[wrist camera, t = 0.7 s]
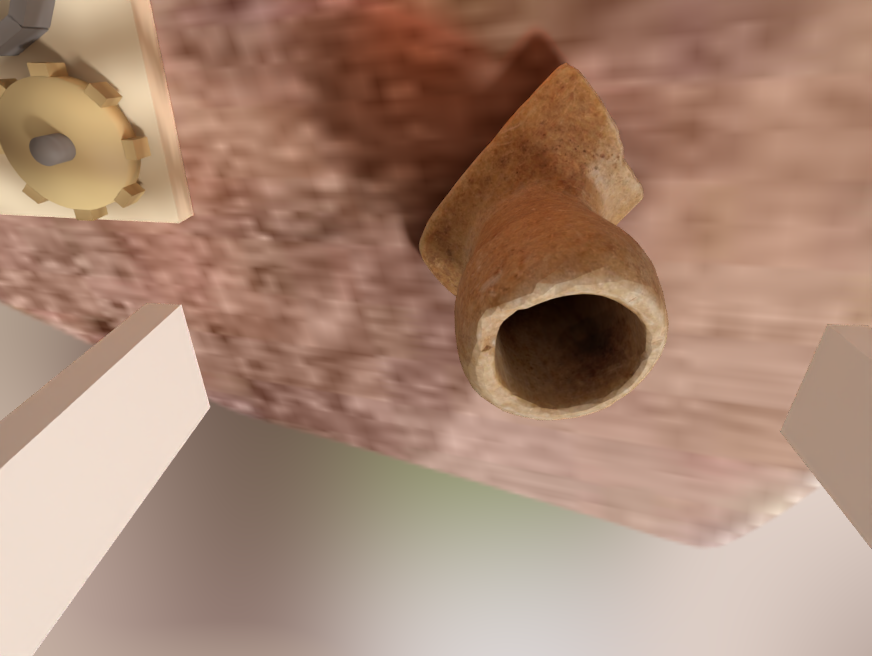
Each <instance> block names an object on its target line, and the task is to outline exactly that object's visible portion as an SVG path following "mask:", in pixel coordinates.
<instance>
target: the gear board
mask: <svg viewBox="0 0 872 656" xmlns="http://www.w3.org/2000/svg"><path fill="white" fill-rule="evenodd" d="M0 214H2V215H23V216H43V217H64V218H76V219H77V220H87V221H94V220H96V219H105V220H125V221H145V222H166V223H181V222H182V221H184V220H186V219H187V218H189V217H191V216H192V215H194V214H193V209H192V204H191V199H190V194H189V189H188V185H187V180H186V175H185V170H184V165H183V160H182V155H181V150H180V146H179V141H178V136H177V131H176V126H175V121H174V116H173V111H172V107H171V102H170V97H169V92H168V87H167V82H166V77H165V72H164V67H163V63H162V58H161V53H160V48H159V43H158V38H157V33H156V28H155V24H154V19H153V14H152V9H151V4H150V0H0Z"/></svg>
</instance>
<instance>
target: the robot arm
mask: <svg viewBox="0 0 872 656" xmlns="http://www.w3.org/2000/svg"><path fill="white" fill-rule="evenodd" d="M209 408H210V405H209V401H208V398H207V394H206V391H205V387H204V384H203V380H202V377H201V373H200V369H199V366H198V362H197V359H196V355H195V352H194V348H193V344H192V341H191V337H190V334H189V330H188V327H187V323H186V320H185V316H184V312H183V309H182V305H181V304H154V303H146V304H145V305H143V306H142V307H141V308H140V309H139V310H137V311H136V312H135V313H134V314H132V315H131V316H130V317H129V318H127V319H126V320H125V321H124V322H122V323H121V324H120V325H119V326H117V327H116V328H115V329H114V330H113V331H111V332H110V333H109V334H108V335H106V336H105V337H104V338H103V339H101V340H100V341H99V342H98V343H96V344H95V345H94V346H93V347H92V348H90V349H89V350H88V351H87V352H85V353H84V354H83V355H82V356H80V357H79V358H78V359H77V360H75V361H74V362H73V363H72V364H70V365H69V366H68V367H67V368H66V369H65V370H63V371H62V372H61V373H59V374H58V375H57V376H56V377H54V378H53V379H52V380H51V381H50V382H48V383H47V384H46V385H45V386H43V387H42V388H41V389H40V390H38V391H37V392H36V393H35V394H33V395H32V396H31V397H30V398H29V399H27V400H26V401H25V402H23V403H22V404H21V405H20V406H19V407H17V408H16V409H15V410H14V411H12V412H11V413H10V414H9V415H7V416H6V417H5V418H4V419H2V420H1V421H0V656H33V654H34V653H35V652H36V650H37V649H38V647H39V646H40V645H41V643H42V642H43V640H44V639H45V638H46V636H47V635H48V633H49V632H50V631H51V629H52V628H53V626H54V625H55V623H56V622H57V621H58V619H59V618H60V617H61V615H62V614H63V612H64V611H65V610H66V608H67V607H68V605H69V604H70V603H71V601H72V600H73V598H74V597H75V595H76V594H77V593H78V591H79V590H80V589H81V587H82V586H83V584H84V583H85V582H86V580H87V579H88V577H89V576H90V574H91V573H92V572H93V570H94V569H95V568H96V566H97V565H98V563H99V562H100V561H101V559H102V558H103V556H104V555H105V553H106V552H107V551H108V549H109V548H110V547H111V545H112V544H113V542H114V541H115V540H116V538H117V537H118V535H119V534H120V533H121V531H122V530H123V528H124V527H125V526H126V524H127V523H128V521H129V520H130V519H131V517H132V516H133V514H134V513H135V512H136V510H137V509H138V507H139V506H140V505H141V503H142V502H143V500H144V499H145V498H146V496H147V495H148V493H149V492H150V491H151V489H152V488H153V486H154V485H155V483H156V482H157V481H158V479H159V478H160V477H161V475H162V474H163V473H164V471H165V470H166V468H167V467H168V466H169V464H170V463H171V461H172V460H173V458H174V457H175V456H176V454H177V453H178V451H179V450H180V449H181V447H182V446H183V445H184V443H185V442H186V440H187V439H188V437H189V436H190V435H191V433H192V432H193V431H194V429H195V428H196V426H197V425H198V423H199V422H200V421H201V419H202V418H203V416H204V415H205V414H206V412H207V411H208V410H209ZM780 432H781V433H782V435H783V436H784V437H785V439H786V440H787V441H788V442H789V444H790V445H791V446H792V448H793V449H794V450H795V451H796V453H797V454H798V455H799V456H800V458H801V459H802V460H803V462H804V463H805V464H806V465H807V467H808V468H809V469H810V471H811V472H812V473H813V474H814V476H815V477H816V478H817V480H818V481H819V482H820V483H821V485H822V486H823V487H824V489H825V490H826V491H827V492H828V494H829V495H830V496H831V497H832V499H833V500H834V501H835V503H836V504H837V505H838V506H839V508H840V509H841V510H842V512H843V513H844V514H845V515H846V517H847V518H848V519H849V520H850V522H851V523H852V525H853V526H854V527H855V528H856V529H857V531H858V532H859V533H860V535H861V536H862V537H863V539H864V540H865V541H866V542H867V544H868V545H869V546H870V548H871V549H872V328H871V327H869V326H867V325H834V324H827V326H826V329H825V331H824V333H823V336H822V338H821V340H820V342H819V345H818V347H817V349H816V351H815V354H814V356H813V358H812V360H811V363H810V365H809V367H808V369H807V372H806V374H805V376H804V378H803V381H802V383H801V385H800V388H799V390H798V392H797V394H796V397H795V399H794V401H793V403H792V406H791V408H790V410H789V412H788V415H787V417H786V419H785V421H784V424H783V426H782V428H781V430H780Z"/></svg>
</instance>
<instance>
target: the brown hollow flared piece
mask: <svg viewBox="0 0 872 656" xmlns="http://www.w3.org/2000/svg"><path fill="white" fill-rule="evenodd" d="M623 153H624V152H623V145H622V142H621V140H620V138H619V130H618V128H617V126H616V124H615V123H614V121H613V119H612V118H611V116H610V115H609V113H608V112H607V110H606V108H605V106H604V105H603V103H602V101H601V99H600V98H599V96H598V95H597V93H596V92H595V91H594V89H593V88H592V87H591V85H590V84H589V83H588V81H587V80H586V79H585V77H584V76H583V75H582V73H581V72H580V71H578V70H577V69H576V68H574V67H572V66H570V65H569V64H567V63H564V64H562V65H560V66H559V67H558V68H557V69H556V70H555V71H554V72H553V73H552V74H551V75H550V76H549V77H548V78H547V79H546V80H545V81H544V82H543V83H542V84H541V85H540V86H539V87H538V88H537V89H536V91H535V92H534V93H533V94H532V95H531V96H530V98H529V99H527V100H526V101H525V102H524V103H523V104H522V106H521V107H520V108H519V109H518V110H517V111H516V112H515V113H514V114H513V116H512V117H511V118H510V119H509V120H508V121H507V122H506V124H505V125H504V126H503V127H502V129H501V130H500V131H499V133H498V134H497V135H496V136H495V138H494V139H493V140H492V141H491V142H490V143H489V145H488V146H487V147H486V148H485V149H484V150H483V151H482V152H481V153H480V154H479V156H478V157H477V158H476V159H475V160H474V162H473V163H472V164H471V165H470V166H469V168H468V169H467V170H466V171H465V172H464V174H463V175H462V176H461V177H460V178H459V180H458V181H457V182H456V184H455V185H454V186H453V188H452V189H451V190H450V192H449V193H448V194H447V196H446V197H445V198H444V200H443V201H442V202H441V203H440V205H439V206H438V207H437V209H436V210H435V211H434V213H433V214H432V216H431V217H430V219H429V220H428V222H427V224H426V227H425V229H424V231H423V234H422V236H421V239H420V242H419V250H420V253H421V255H422V258H423V261H424V262H425V264H426V265H427V266H428V268H429V269H430V271H431V272H432V273H433V275H434V276H435V277H436V278H437V279H438V280H439V281H440V282H441V283H442V285H443V286H445V287H446V288H447V289H448V290H449V291H450V292H451V293H452V294H454V295H455V296H456V301H455V311H454V313H455V334H456V341H457V349H458V354H459V359H460V362H461V365H462V368H463V371H464V373H465V375H466V377H467V379H468V380H469V382H470V384H471V386H472V388H473V389H474V390H475V391H476V392H477V393H478V394H479V395H480V396H481V397H483V398H484V399H486V400H487V401H489V402H490V403H491V404H493V405H495V406H496V407H498V408H499V409H501V410H502V411H505V412H508V413H511V414H514V415H517V416H521V417H526V418H531V419H536V420H559V419H569V418H578V417H581V416H584V415H588V414H591V413H595V412H598V411H600V410H602V409H604V408H606V407H609V406H611V405H612V404H613V403H615V402H616V401H617V400H619V399H620V398H622V397H624V396H625V395H627V394H628V393H630V392H631V391H632V390H633V389H634V388H635V387H636V386H637V385H638V384H639V383H640V382H641V381H642V380H643V379H644V378H645V377H646V376H647V374H648V373H649V372H650V371H651V370H652V368H653V366H654V365H655V363H656V362H657V360H658V359H659V357H660V355H661V353H662V351H663V348H664V346H665V343H666V339H667V332H668V325H669V323H668V316H667V310H666V305H665V300H664V295H663V291H662V288H661V285H660V282H659V279H658V276H657V273H656V270H655V268H654V266H653V264H652V262H651V260H650V259H649V257H648V256H647V255H646V253H645V252H644V251H643V249H642V248H641V247H640V245H639V244H638V243H637V242H636V241H635V240H634V239H633V238H632V237H631V236H630V235H629V234H627V233H626V232H625V231H623V230H622V229H621V228H619V227H618V226H616V225H617V224H618V223H619V222H620V221H621V220H622V219H623V218H624V217H625V216H626V215H627V214H628V213H629V212H630V211H631V210H632V209H633V208H634V207H635V206H636V205H637V204H638V203H639V202H640V201H641V200H642V199H643V188H642V185H641V184H640V182H639V181H638V180H637V179H636V177H635V175H634V173H633V171H632V169H631V168H630V167H629V166H628V164H627V163H626V161H625V159H624V158H623Z"/></svg>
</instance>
